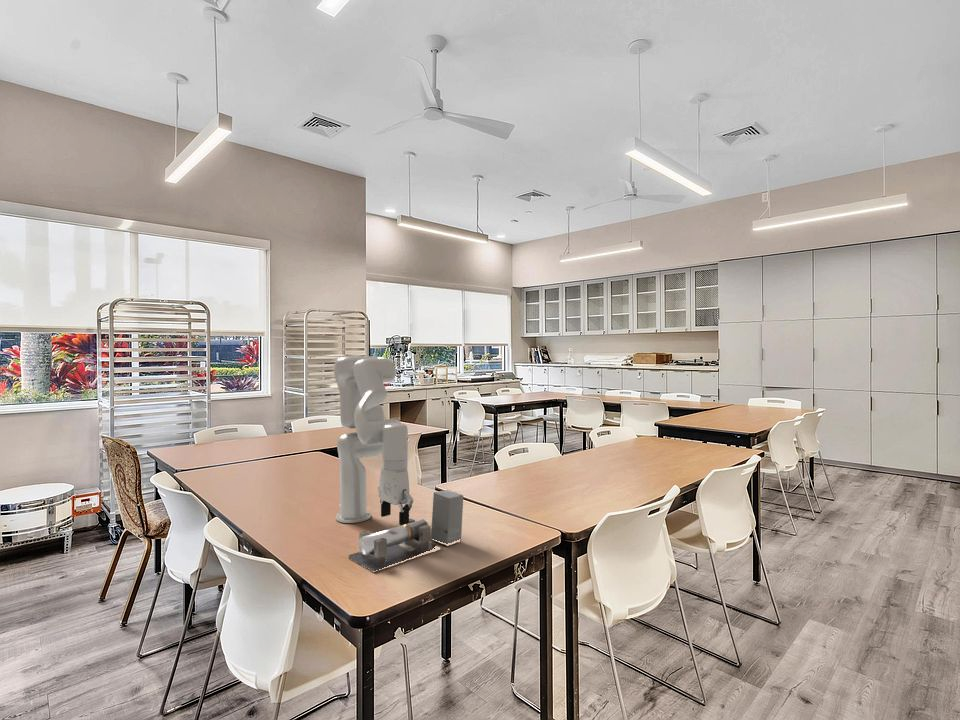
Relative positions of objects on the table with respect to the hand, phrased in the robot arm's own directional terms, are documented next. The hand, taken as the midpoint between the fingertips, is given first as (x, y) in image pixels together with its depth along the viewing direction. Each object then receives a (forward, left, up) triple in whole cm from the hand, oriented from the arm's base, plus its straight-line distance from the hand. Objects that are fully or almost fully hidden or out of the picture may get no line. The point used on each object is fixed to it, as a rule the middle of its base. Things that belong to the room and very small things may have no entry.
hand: (394, 519), depth 155 cm
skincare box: (+4, +18, -11) cm, 21 cm away
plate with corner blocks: (+1, 0, -10) cm, 10 cm away
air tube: (+1, 0, -5) cm, 5 cm away
